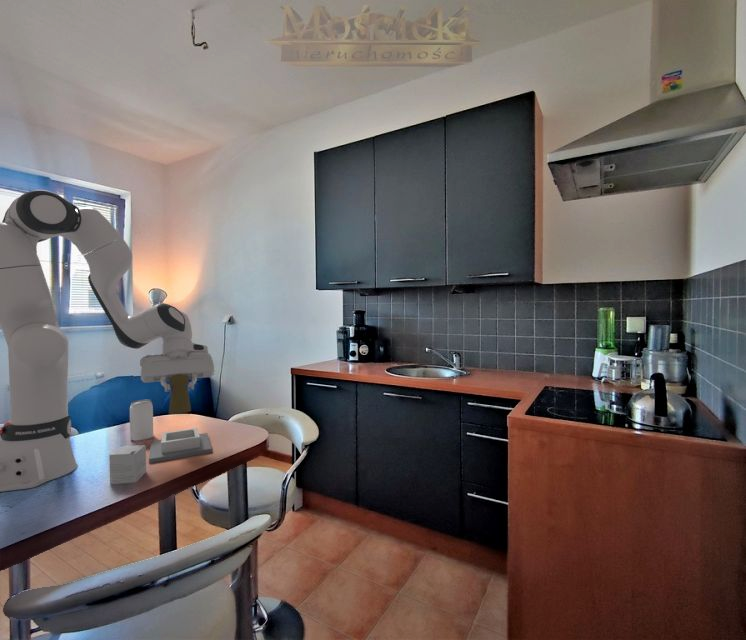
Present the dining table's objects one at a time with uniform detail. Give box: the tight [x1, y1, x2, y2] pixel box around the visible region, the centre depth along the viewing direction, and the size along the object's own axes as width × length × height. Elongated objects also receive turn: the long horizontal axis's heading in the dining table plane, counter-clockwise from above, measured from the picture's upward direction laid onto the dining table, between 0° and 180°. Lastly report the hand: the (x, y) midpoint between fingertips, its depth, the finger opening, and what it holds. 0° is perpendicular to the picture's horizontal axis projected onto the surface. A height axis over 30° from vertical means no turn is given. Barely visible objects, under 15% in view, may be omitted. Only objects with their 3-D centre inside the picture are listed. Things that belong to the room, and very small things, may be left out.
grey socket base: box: [148, 427, 213, 464], centre depth 115 cm, size 16×16×4 cm
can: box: [129, 399, 154, 442], centre depth 124 cm, size 6×6×12 cm
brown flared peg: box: [168, 375, 192, 415], centre depth 114 cm, size 6×6×11 cm
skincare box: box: [109, 444, 147, 485], centre depth 95 cm, size 6×6×7 cm
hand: (179, 389), depth 114 cm, fingers closed on brown flared peg, 5 cm apart
